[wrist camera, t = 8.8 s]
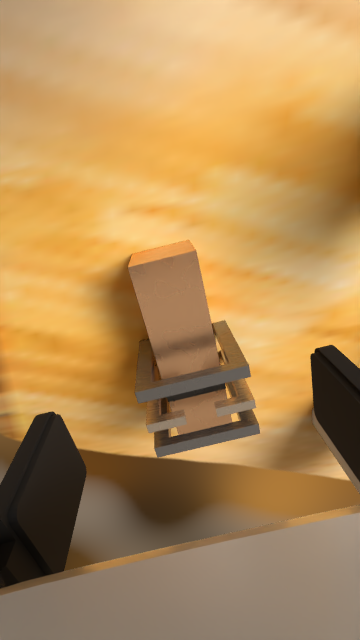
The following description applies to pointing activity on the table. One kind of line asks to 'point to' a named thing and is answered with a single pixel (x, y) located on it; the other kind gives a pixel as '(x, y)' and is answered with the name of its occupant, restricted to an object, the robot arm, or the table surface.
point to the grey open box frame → (230, 373)
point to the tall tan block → (179, 326)
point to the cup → (336, 453)
